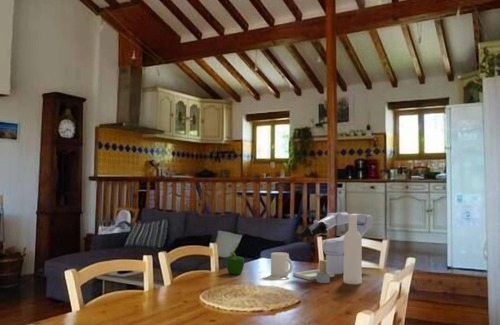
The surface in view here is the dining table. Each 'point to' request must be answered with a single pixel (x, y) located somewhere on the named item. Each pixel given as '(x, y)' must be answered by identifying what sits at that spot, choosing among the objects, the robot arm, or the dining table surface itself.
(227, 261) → the bell pepper
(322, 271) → the dowel
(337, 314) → the dining table surface
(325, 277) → the cup
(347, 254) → the bottle
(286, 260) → the mug
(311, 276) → the tray
